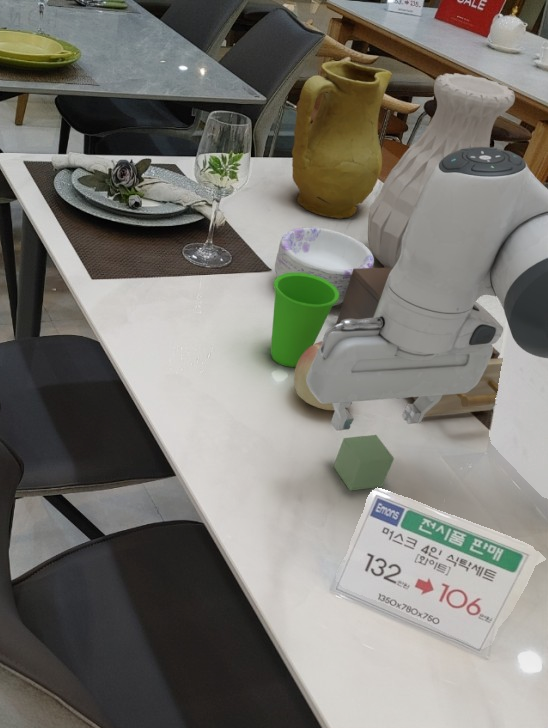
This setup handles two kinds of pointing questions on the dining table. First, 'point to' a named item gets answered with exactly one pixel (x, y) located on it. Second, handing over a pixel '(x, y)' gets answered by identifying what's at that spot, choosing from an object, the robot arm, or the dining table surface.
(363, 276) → the cabinet
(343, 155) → the pitcher
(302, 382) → the apple
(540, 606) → the dining table surface
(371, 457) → the block
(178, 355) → the dining table surface
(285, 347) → the cup
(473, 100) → the vase
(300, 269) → the paper bowls
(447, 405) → the drawer
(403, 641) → the dining table surface
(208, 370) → the dining table surface
